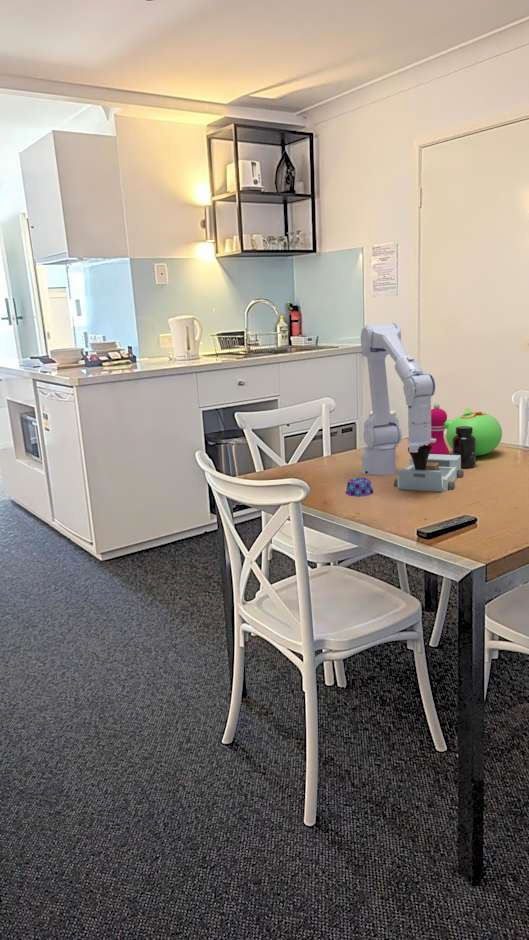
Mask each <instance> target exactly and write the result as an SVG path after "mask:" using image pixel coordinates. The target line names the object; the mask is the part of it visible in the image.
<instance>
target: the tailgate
mask: <svg viewBox="0 0 529 940" xmlns="http://www.w3.org/2000/svg"><path fill="white" fill-rule="evenodd" d="M397 471H398V472H397V473H398V476H399V485H400V487H399V488H398V489H399V490H401V491H418V492H432V493H433V492H434V493H435V492H436V493H443V492H444V491H443V490H442V473H441V471H437V470H415V469H406V468H398V470H397Z"/></svg>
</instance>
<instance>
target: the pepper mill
mask: <svg viewBox="0 0 529 940" xmlns="http://www.w3.org/2000/svg"><path fill="white" fill-rule="evenodd" d="M440 407H441V405H440V403H437V402H436V403H434V404H433V408H431V438H433V439H436V442H435V443H429V444H427V445H431V446H432V449H431V451H430V454H440V455H450V451H449V448H448V446H447V444H446V442H445V441H446V440H445V438H444V434H445V433H444V432H445V431H446V428H445V424H444V423H445V422H446V420H448V413H447V412H446V410H444V409H442V408H440Z"/></svg>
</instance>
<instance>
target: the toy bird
mask: <svg viewBox="0 0 529 940" xmlns="http://www.w3.org/2000/svg"><path fill="white" fill-rule="evenodd" d="M444 424H445V430H446V434H445V435H446V441H447V444H448V445H449V447H450V448H451V449H452V439H453V437H454V436H456V435H457V434H456V427H459V426H470V427H472V428H473V433H472V435H473V436H474V437H475V438H476V457H479V456H483V455H484V456H485V455H486V454H489V453H491V452H492V451H494V450H495V449H496V448H497V447H498V446H499V445H500V443H501V441H502V437H503V431H502V430H503V429H502V426H501V424H500V422H499V421H498V420H497V418H496V417H494V416H492V415H490V414H488V413H484V412H482V410H481V411H479V410H477V411H471V409H470V408H469V407H468V408H465V409H464V411H463V413H462V414H461V415H459V416H457V417H456V418H454V419H447V420H446V422H445V423H444Z"/></svg>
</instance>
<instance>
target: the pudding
mask: <svg viewBox="0 0 529 940" xmlns="http://www.w3.org/2000/svg"><path fill="white" fill-rule="evenodd" d="M374 492H375V491H374V489H373V485H372V481H371V480H370V479H369V478H367V477H366V478H365V477H354V478H351V479H349V480H348V482H347V485H346V490H345V494H346V495H348V496H349V497H359V498H360V497H367V496H370V495H372V494H374Z"/></svg>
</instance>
